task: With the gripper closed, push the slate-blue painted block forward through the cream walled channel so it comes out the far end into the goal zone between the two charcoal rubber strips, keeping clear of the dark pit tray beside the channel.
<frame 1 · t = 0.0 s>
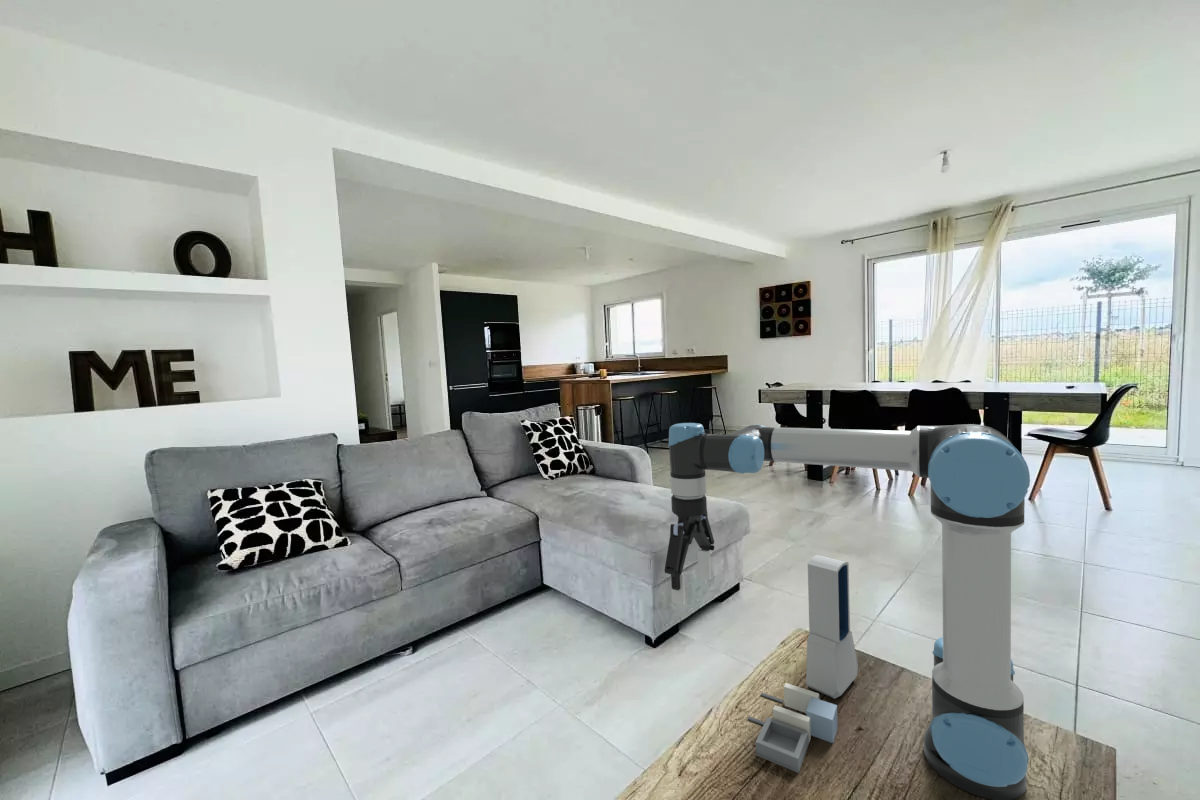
hand: (692, 590, 106), 28 cm above the table, fingers open, 13 cm apart
block: (822, 731, 101), on the table
pit tray: (782, 750, 96), on the table
electronic device: (832, 684, 115), on the table
channel: (797, 721, 104), on the table
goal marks: (766, 710, 108), on the table
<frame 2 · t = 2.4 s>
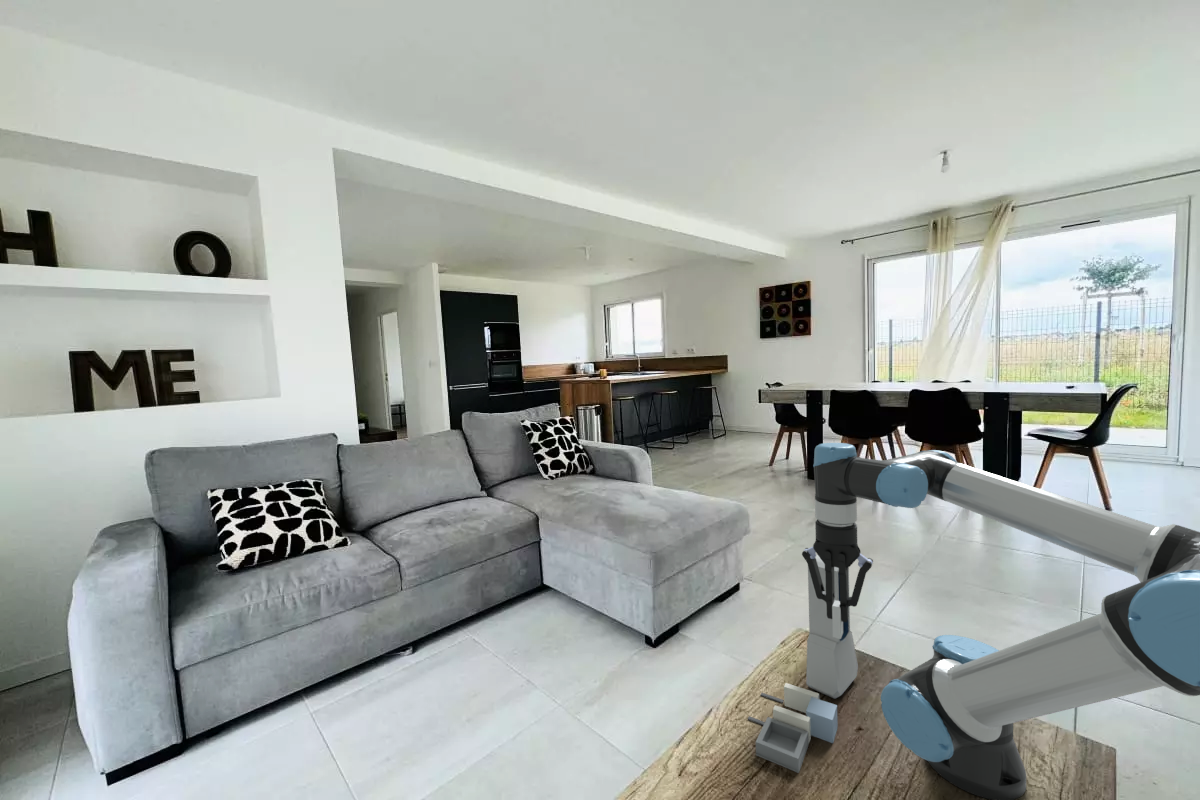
hand: (838, 634, 98), 21 cm above the table, fingers closed
nothing on the table moved.
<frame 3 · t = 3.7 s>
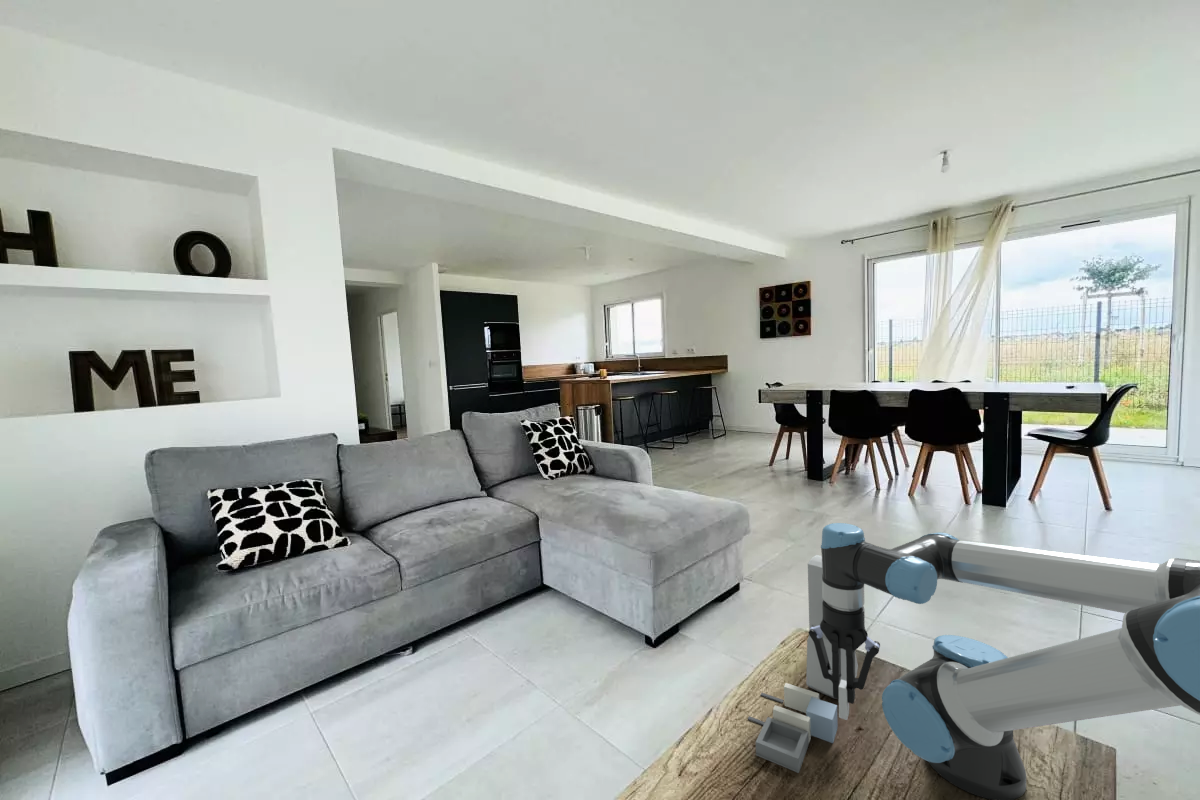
hand: (844, 714, 98), 5 cm above the table, fingers closed
nothing on the table moved.
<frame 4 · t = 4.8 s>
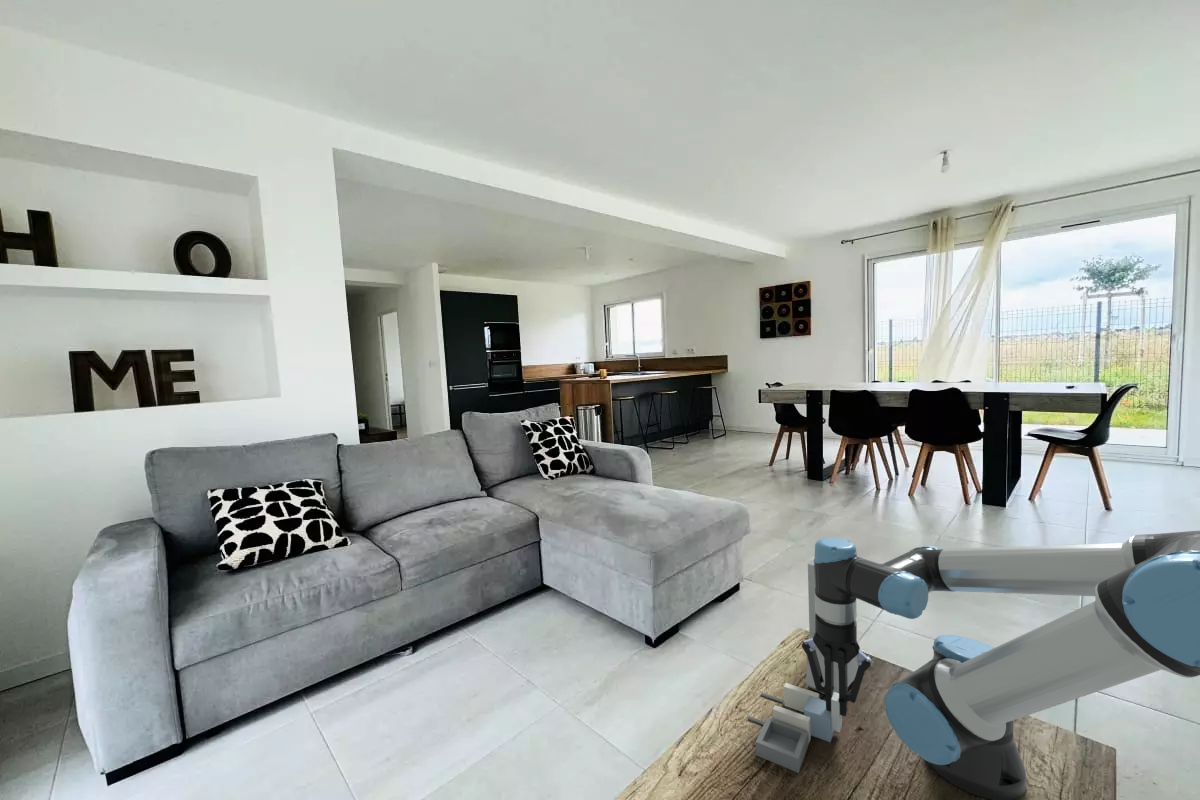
hand: (836, 726, 99), 2 cm above the table, fingers closed
block: (819, 729, 101), on the table, touching gripper
everything else where it was.
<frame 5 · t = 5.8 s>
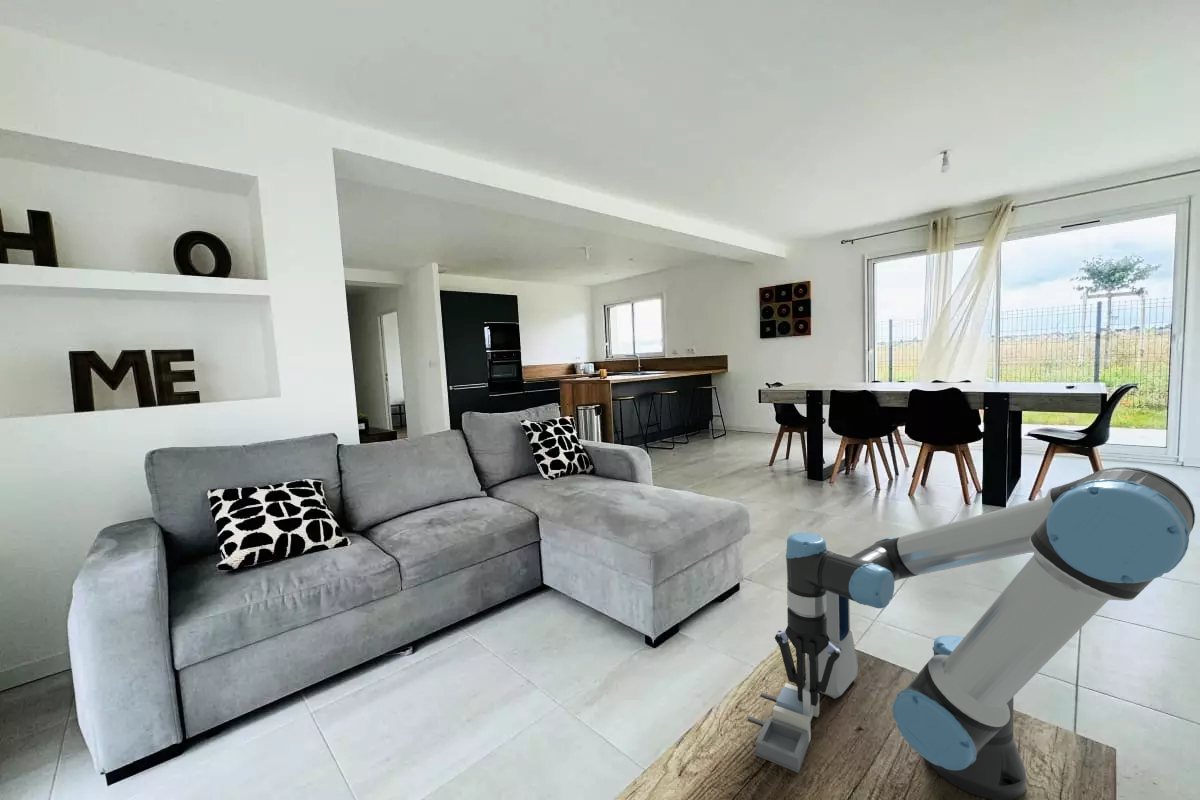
hand: (808, 716, 103), 2 cm above the table, fingers closed
block: (792, 719, 104), on the table, touching gripper
everything else where it was.
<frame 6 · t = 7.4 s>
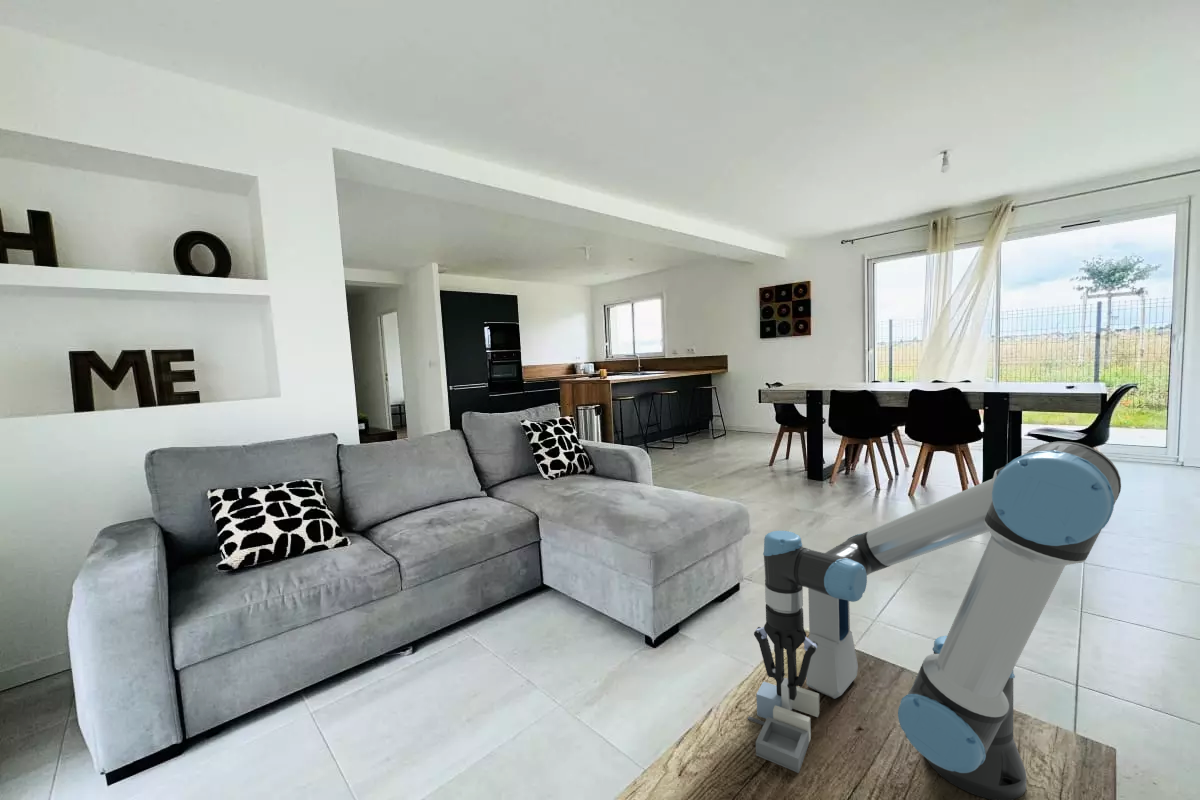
hand: (787, 710, 105), 2 cm above the table, fingers closed
block: (772, 713, 107), on the table, touching gripper
everything else where it was.
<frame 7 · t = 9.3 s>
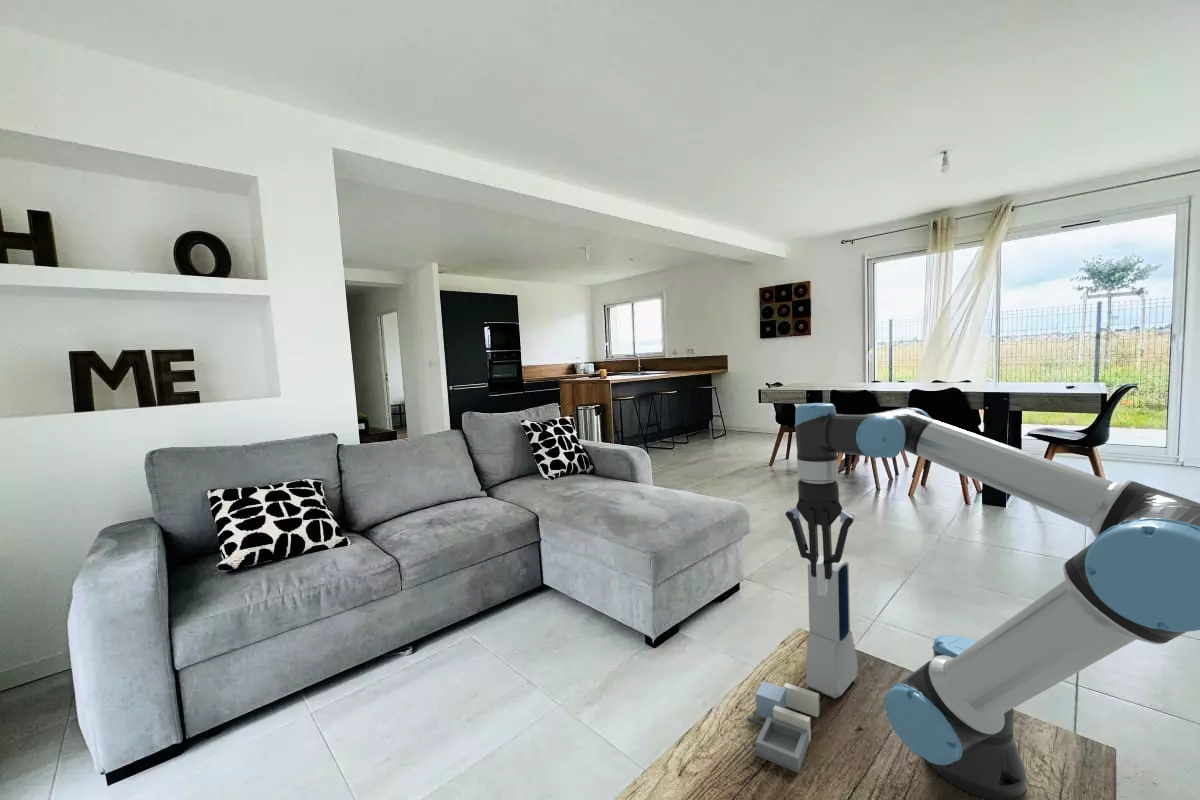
hand: (822, 592, 100), 29 cm above the table, fingers closed
block: (771, 712, 107), on the table
everything else where it was.
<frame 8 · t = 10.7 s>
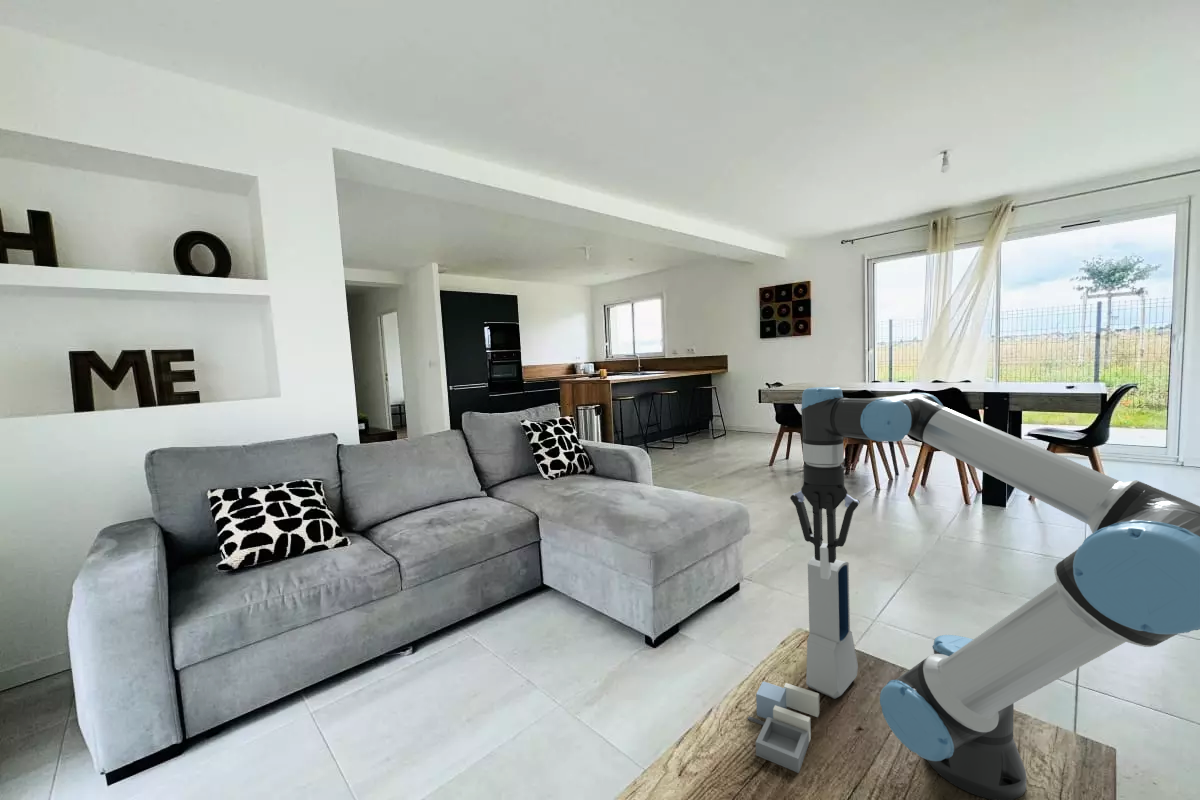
hand: (825, 576, 100), 32 cm above the table, fingers closed
nothing on the table moved.
at the end: block inside the target area (2.0 cm from its centre), on the table; block tilted 0°; block touching table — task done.
